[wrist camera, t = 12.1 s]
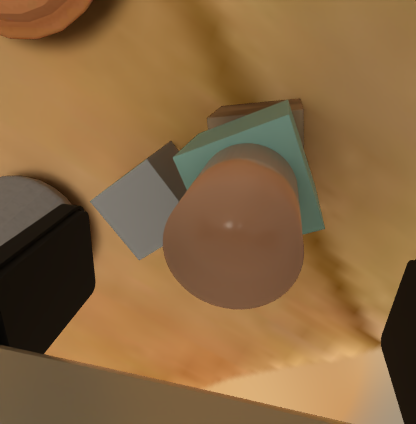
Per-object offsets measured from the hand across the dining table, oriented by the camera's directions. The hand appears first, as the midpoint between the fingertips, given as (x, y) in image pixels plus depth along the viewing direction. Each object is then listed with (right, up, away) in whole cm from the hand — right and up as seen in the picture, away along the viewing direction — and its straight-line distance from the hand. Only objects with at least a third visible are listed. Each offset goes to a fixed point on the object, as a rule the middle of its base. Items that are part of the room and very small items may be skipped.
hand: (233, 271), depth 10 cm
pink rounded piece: (+1, +3, +7) cm, 8 cm away
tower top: (+2, +5, +13) cm, 14 cm away
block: (-4, +4, +21) cm, 22 cm away
